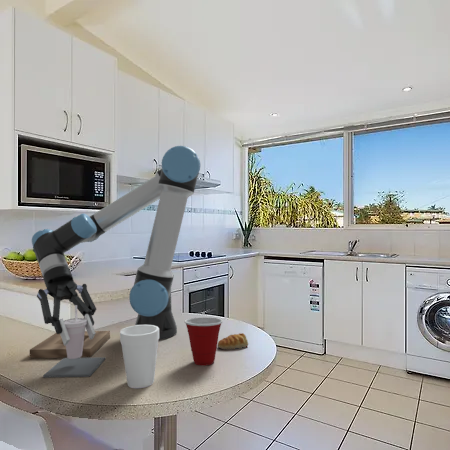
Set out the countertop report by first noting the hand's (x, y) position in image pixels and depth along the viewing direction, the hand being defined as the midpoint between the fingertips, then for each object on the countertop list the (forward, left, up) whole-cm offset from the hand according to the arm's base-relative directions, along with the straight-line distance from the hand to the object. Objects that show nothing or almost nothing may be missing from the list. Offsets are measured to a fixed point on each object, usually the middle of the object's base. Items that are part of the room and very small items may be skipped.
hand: (80, 339), depth 96 cm
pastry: (-41, -18, -9) cm, 46 cm away
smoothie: (+3, -3, -6) cm, 7 cm away
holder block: (+10, -20, -9) cm, 24 cm away
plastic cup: (-33, -6, -9) cm, 34 cm away
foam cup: (-18, +7, -9) cm, 21 cm away
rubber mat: (+2, -3, -9) cm, 9 cm away
